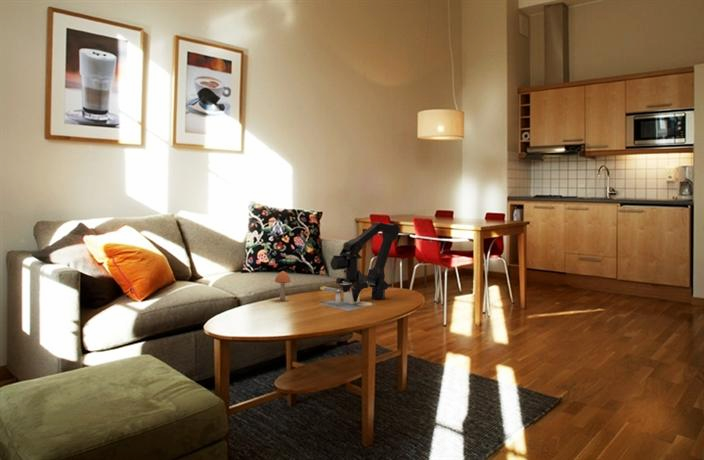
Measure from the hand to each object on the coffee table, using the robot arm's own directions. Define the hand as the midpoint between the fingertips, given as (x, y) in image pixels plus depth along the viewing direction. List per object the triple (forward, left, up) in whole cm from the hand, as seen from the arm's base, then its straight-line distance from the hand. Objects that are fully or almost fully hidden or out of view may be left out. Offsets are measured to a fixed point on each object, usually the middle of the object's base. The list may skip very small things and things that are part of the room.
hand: (351, 300), depth 244 cm
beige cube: (0, 0, -1) cm, 1 cm away
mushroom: (+18, -30, -2) cm, 35 cm away
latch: (+9, -4, +5) cm, 12 cm away
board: (+4, +1, -2) cm, 5 cm away
